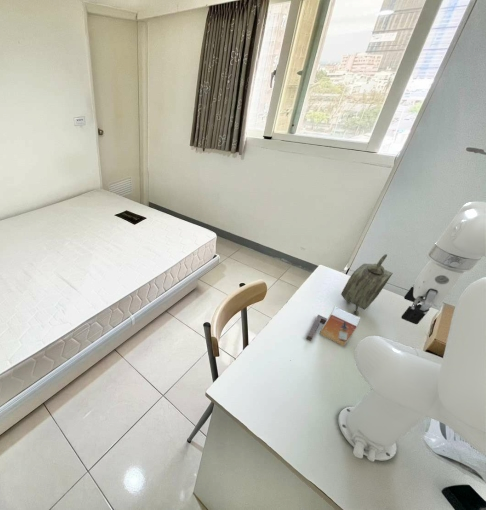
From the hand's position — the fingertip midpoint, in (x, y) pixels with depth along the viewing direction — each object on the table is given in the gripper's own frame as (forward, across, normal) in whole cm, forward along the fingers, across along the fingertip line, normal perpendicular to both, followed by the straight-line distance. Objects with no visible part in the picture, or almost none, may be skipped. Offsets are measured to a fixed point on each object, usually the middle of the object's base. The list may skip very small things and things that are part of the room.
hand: (409, 310), depth 71 cm
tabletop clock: (+28, +34, +8) cm, 45 cm away
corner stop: (+28, +9, +12) cm, 32 cm away
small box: (+28, +11, +10) cm, 32 cm away
